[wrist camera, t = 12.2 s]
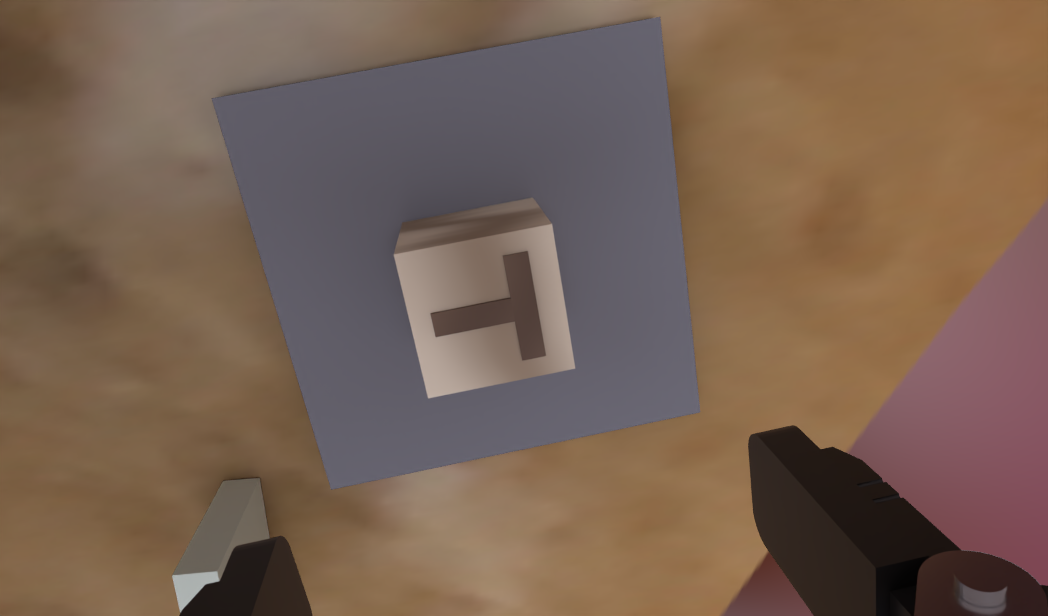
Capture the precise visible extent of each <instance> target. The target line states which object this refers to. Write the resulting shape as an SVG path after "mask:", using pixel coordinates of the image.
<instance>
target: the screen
mask: <svg viewBox="0 0 1048 616" xmlns="http://www.w3.org/2000/svg"><path fill="white" fill-rule="evenodd" d="M269 538H270V537H269V531H268V525H267V519H266V513H265V507H264V501H263V495H262V489H261V483H260V478H252V479H239V480H227V481H223V482H222V484H221V486H220V488H219V489H218V491H217V493H216V495H215V497H214V499H213V501H212V502H211V504H210V506H209V508H208V510H207V512H206V514H205V515H204V517H203V519H202V521H201V523H200V525H199V527H198V528H197V530H196V532H195V534H194V536H193V538H192V540H191V541H190V543H189V545H188V547H187V549H186V551H185V553H184V554H183V556H182V558H181V560H180V562H179V564H178V566H177V567H176V569H175V571H174V573H173V575H172V577H173V582H174V586H175V590H176V595H177V599H178V604H179V608H180V613H181V611H182V610H183V608H184V607H185V606H186V605H187V604H188V603H189V602H190V601H191V600H192V599H193V598H194V596H195V595H196V594H197V593H198V592H199V591H200V590H201V589H202V588H203V587H204V585H205V584H209V583H214V582H218V581H220V579H221V577H222V574H223V572H224V570H225V567H226V565H227V562H228V560H229V558H230V555H231V553H232V551H233V549H234V548H235V547H236V546H237V545H242V544H246V543H251V542H255V541H260V540H265V539H269Z"/></svg>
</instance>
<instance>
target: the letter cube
mask: <svg viewBox="0 0 1048 616" xmlns="http://www.w3.org/2000/svg"><path fill="white" fill-rule="evenodd" d="M394 258H395V262H396V266H397V271H398V275H399V279H400V283H401V287H402V291H403V296H404V300H405V304H406V308H407V312H408V316H409V321H410V325H411V329H412V333H413V337H414V342H415V346H416V350H417V354H418V358H419V362H420V367H421V371H422V375H423V379H424V383H425V387H426V392H427V396H428V398H433V397H438V396H443V395H448V394H453V393H458V392H463V391H468V390H472V389H477V388H482V387H487V386H492V385H497V384H502V383H507V382H512V381H517V380H522V379H527V378H531V377H536V376H541V375H546V374H551V373H556V372H561V371H566V370H571V369H575V363H574V357H573V351H572V345H571V338H570V332H569V326H568V320H567V314H566V307H565V301H564V295H563V289H562V283H561V276H560V270H559V264H558V258H557V251H556V245H555V239H554V233H553V227H552V223H551V222H550V220H549V219H548V218H547V216H546V215H545V214H544V212H543V211H542V209H541V208H540V207H539V205H538V204H537V203H536V201H535V200H534V198H528V199H523V200H518V201H512V202H507V203H502V204H497V205H491V206H486V207H481V208H476V209H470V210H465V211H460V212H455V213H450V214H444V215H439V216H434V217H429V218H423V219H418V220H413V221H408V222H402V226H401V229H400V233H399V237H398V240H397V244H396V248H395V252H394Z"/></svg>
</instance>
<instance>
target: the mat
mask: <svg viewBox="0 0 1048 616" xmlns="http://www.w3.org/2000/svg"><path fill="white" fill-rule="evenodd" d="M212 101H213V104H214V108H215V111H216V114H217V118H218V121H219V124H220V127H221V131H222V134H223V137H224V140H225V144H226V147H227V150H228V154H229V157H230V160H231V163H232V167H233V170H234V173H235V176H236V180H237V183H238V186H239V190H240V193H241V196H242V199H243V203H244V206H245V209H246V212H247V216H248V219H249V222H250V226H251V229H252V232H253V235H254V239H255V242H256V245H257V248H258V252H259V255H260V258H261V261H262V265H263V268H264V271H265V275H266V278H267V281H268V284H269V288H270V291H271V294H272V297H273V301H274V304H275V307H276V311H277V314H278V317H279V320H280V324H281V327H282V330H283V333H284V337H285V340H286V343H287V347H288V350H289V353H290V356H291V360H292V363H293V366H294V369H295V373H296V376H297V379H298V383H299V386H300V389H301V392H302V396H303V399H304V402H305V405H306V409H307V412H308V415H309V419H310V422H311V425H312V428H313V432H314V435H315V438H316V441H317V445H318V448H319V451H320V454H321V458H322V461H323V464H324V468H325V471H326V474H327V477H328V481H329V484H330V487H331V490H332V489H337V488H342V487H346V486H351V485H356V484H361V483H365V482H370V481H375V480H380V479H384V478H389V477H394V476H399V475H403V474H408V473H413V472H418V471H423V470H427V469H432V468H437V467H442V466H446V465H451V464H456V463H461V462H465V461H470V460H475V459H480V458H485V457H489V456H494V455H499V454H504V453H508V452H513V451H518V450H523V449H527V448H532V447H537V446H542V445H547V444H551V443H556V442H561V441H566V440H570V439H575V438H580V437H585V436H589V435H594V434H599V433H604V432H608V431H613V430H618V429H623V428H628V427H632V426H637V425H642V424H647V423H651V422H656V421H661V420H666V419H670V418H675V417H680V416H685V415H690V414H694V413H699V412H700V405H699V396H698V386H697V376H696V366H695V356H694V346H693V336H692V326H691V317H690V307H689V297H688V287H687V277H686V267H685V257H684V248H683V238H682V228H681V218H680V208H679V198H678V188H677V179H676V169H675V159H674V149H673V139H672V129H671V119H670V110H669V100H668V90H667V80H666V70H665V60H664V50H663V41H662V31H661V21H660V17H657V18H651V19H646V20H640V21H635V22H629V23H624V24H618V25H613V26H607V27H602V28H596V29H591V30H585V31H580V32H574V33H569V34H563V35H558V36H552V37H547V38H541V39H536V40H530V41H525V42H519V43H514V44H508V45H503V46H497V47H492V48H486V49H481V50H475V51H470V52H464V53H459V54H453V55H448V56H442V57H437V58H431V59H426V60H420V61H415V62H409V63H404V64H398V65H393V66H387V67H382V68H376V69H371V70H365V71H360V72H354V73H349V74H343V75H338V76H332V77H327V78H321V79H316V80H310V81H305V82H299V83H294V84H288V85H283V86H278V87H272V88H267V89H261V90H256V91H250V92H245V93H239V94H234V95H228V96H223V97H217V98H212ZM528 198H534V200H535V201H536V203H537V204H538V205H539V207H540V208H541V209H542V211H543V212H544V214H545V215H546V216H547V218H548V219H549V220H550V222H551V223H552V227H553V233H554V239H555V245H556V251H557V258H558V264H559V270H560V276H561V283H562V289H563V295H564V301H565V307H566V314H567V320H568V326H569V332H570V338H571V345H572V351H573V357H574V363H575V369H571V370H566V371H561V372H556V373H551V374H546V375H541V376H536V377H531V378H527V379H522V380H517V381H512V382H507V383H502V384H497V385H492V386H487V387H482V388H477V389H472V390H468V391H463V392H458V393H453V394H448V395H443V396H438V397H433V398H428V396H427V392H426V387H425V383H424V379H423V375H422V371H421V367H420V362H419V358H418V354H417V350H416V346H415V342H414V337H413V333H412V329H411V325H410V321H409V316H408V312H407V308H406V304H405V300H404V296H403V291H402V287H401V283H400V279H399V275H398V271H397V266H396V262H395V258H394V252H395V248H396V244H397V240H398V237H399V233H400V229H401V226H402V222H408V221H413V220H418V219H423V218H429V217H434V216H439V215H444V214H450V213H455V212H460V211H465V210H470V209H476V208H481V207H486V206H491V205H497V204H502V203H507V202H512V201H518V200H523V199H528Z"/></svg>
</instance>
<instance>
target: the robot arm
mask: <svg viewBox="0 0 1048 616" xmlns="http://www.w3.org/2000/svg"><path fill="white" fill-rule="evenodd" d="M748 449H749V462H750V476H751V490H752V503H753V513H754V518H755V522H756V526H757V529H758V532H759V534H760V537H761V539H762V541H763V543H764V545H765V546H766V548H767V549H768V551H769V552H770V554H771V555H772V556H773V558H774V559H775V561H776V562H777V564H778V565H779V567H780V568H781V569H782V571H783V572H784V574H785V575H786V576H787V578H788V579H789V581H790V582H791V584H792V585H793V587H794V588H795V589H796V591H797V592H798V594H799V595H800V597H801V598H802V599H803V601H804V602H805V603H806V605H807V606H808V608H809V609H810V611H811V612H812V614H813V615H814V616H1048V586H1045V585H1040V584H1039V583H1038V582H1037V581H1036V579H1035V578H1034V577H1032V576H1031V575H1030V574H1029V573H1028V572H1026V571H1025V570H1023V569H1022V568H1020V567H1019V566H1017V565H1015V564H1013V563H1011V562H1009V561H1007V560H1005V559H1002V558H1000V557H996V556H993V555H990V554H986V553H981V552H975V551H964V550H961V549H959V548H958V547H957V546H956V545H955V544H954V543H953V542H952V541H951V540H950V539H948V538H947V537H946V536H945V535H944V534H943V533H942V532H941V531H939V530H938V529H937V528H936V527H935V526H934V525H933V524H932V523H931V522H929V521H928V520H927V519H926V518H925V517H924V516H923V515H922V514H921V513H920V512H919V511H917V510H916V509H915V508H914V507H913V506H912V505H911V504H910V503H909V502H908V501H906V500H905V499H904V498H900V497H899V493H898V492H897V491H895V490H894V489H893V488H892V487H891V486H890V485H888V483H887V482H883V481H882V478H881V477H880V476H879V475H878V474H877V473H875V472H874V471H873V470H872V469H871V468H870V467H869V466H868V465H866V463H864V462H863V461H862V460H860V459H858V458H856V457H854V456H852V455H850V454H847V453H845V452H843V451H841V450H839V449H836V448H834V447H830V448H825V449H820V448H819V447H818V446H816V445H815V444H814V443H813V442H812V441H811V440H810V439H809V438H808V437H807V436H806V435H805V434H804V433H803V432H802V431H801V430H800V429H799V428H798V427H796V426H793V425H792V426H787V427H783V428H778V429H774V430H769V431H765V432H760V433H755V434H752V435H751V436H750V438H749V443H748ZM179 616H312V611H311V608H310V604H309V601H308V599H307V596H306V593H305V590H304V587H303V584H302V581H301V578H300V575H299V572H298V569H297V566H296V563H295V560H294V557H293V554H292V551H291V548H290V546H289V544H288V542H287V540H286V539H285V538H284V537H283V536H278V537H274V538H269V539H265V540H260V541H255V542H251V543H246V544H242V545H237V546H236V547H235V548H234V549H233V551H232V553H231V555H230V558H229V560H228V562H227V565H226V567H225V570H224V572H223V574H222V577H221V579H220V581H218V582H214V583H209V584H205V585H204V587H203V588H202V589H201V590H200V591H199V592H198V593H197V594H196V595H195V596H194V598H193V599H192V600H191V601H190V602H189V603H188V604H187V605H186V606H185V607H184V608H183V610H182V611H181V613H180V615H179Z"/></svg>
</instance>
